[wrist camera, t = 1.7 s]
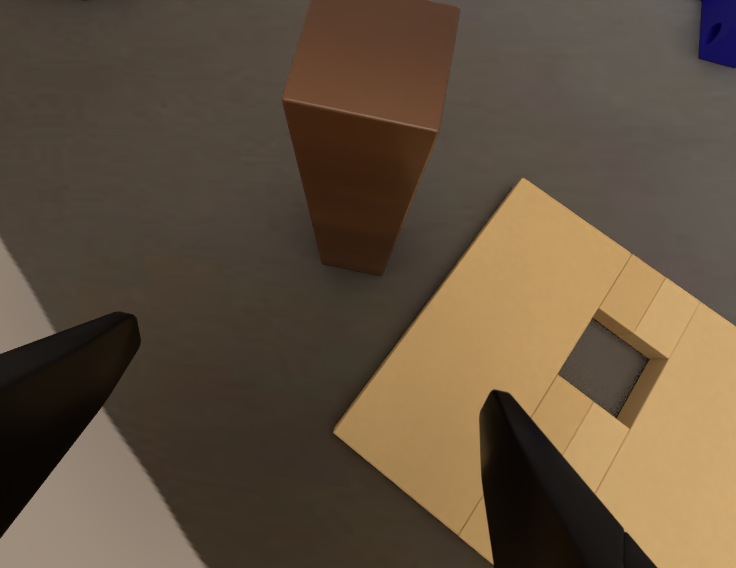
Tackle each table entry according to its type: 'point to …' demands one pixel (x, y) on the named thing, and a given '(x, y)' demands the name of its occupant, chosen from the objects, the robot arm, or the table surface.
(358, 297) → the table surface
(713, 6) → the blue cradle bracket
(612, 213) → the table surface
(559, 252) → the pad
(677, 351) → the pad
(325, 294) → the table surface
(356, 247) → the peg
